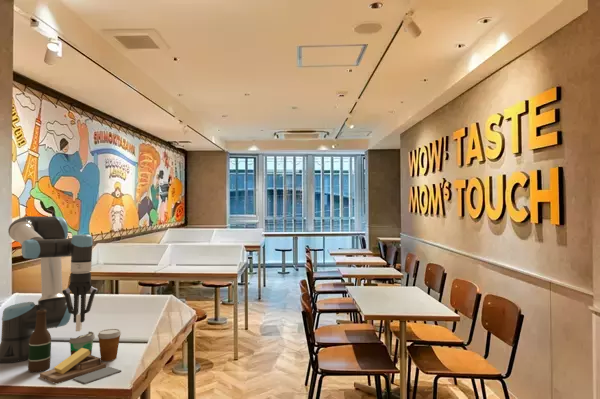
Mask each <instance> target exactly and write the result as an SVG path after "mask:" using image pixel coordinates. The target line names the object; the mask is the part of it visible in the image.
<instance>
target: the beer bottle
mask: <svg viewBox="0 0 600 399" xmlns="http://www.w3.org/2000/svg"><path fill="white" fill-rule="evenodd" d="M36 313H37V318H36V326H35V331H33V333H32V335H31V337H30V340H29V355H28V359H27V370H28V372H29V373H42V372H46V371H48V370H50V368H51V358H52V357H51V355H52V354H51V353H52V336H51V333H50V332H49V330H48V329H47V327H46V313H47V311H46V310H38V311H37V312H36Z"/></svg>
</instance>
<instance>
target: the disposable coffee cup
mask: <svg viewBox="0 0 600 399" xmlns="http://www.w3.org/2000/svg"><path fill="white" fill-rule="evenodd" d="M121 336H122V332H121V329H118V328H108V329H104V330H103V329H102V330H100V331H98V334H97V338H98V346H99V354H100V355H99V356H100V358H101V362H102V361H103V362H111V361H114V360H116V359H117V357H118V356H117V355H118V350H119V343H120V340H121V339H120V337H121Z"/></svg>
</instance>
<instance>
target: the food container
mask: <svg viewBox="0 0 600 399" xmlns="http://www.w3.org/2000/svg"><path fill="white" fill-rule="evenodd" d="M95 339H96V337H95V333H94V332H93V331H88V333H86V334H83V335H79V336H77V337H75V338H74V337H70V339H69V341H68V344H69V347H70V356H71V355H72V354H74V353H75V352H77V351H78V350H79V349H81V348H85V349H88V350H89V351H90V355H92V352H93V346H94V345H93V344H94V343H93V342H94V340H95Z"/></svg>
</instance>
